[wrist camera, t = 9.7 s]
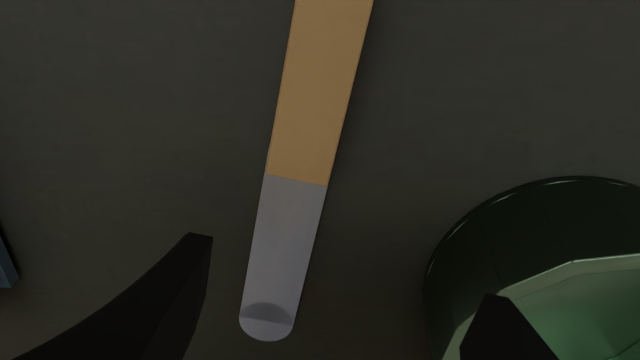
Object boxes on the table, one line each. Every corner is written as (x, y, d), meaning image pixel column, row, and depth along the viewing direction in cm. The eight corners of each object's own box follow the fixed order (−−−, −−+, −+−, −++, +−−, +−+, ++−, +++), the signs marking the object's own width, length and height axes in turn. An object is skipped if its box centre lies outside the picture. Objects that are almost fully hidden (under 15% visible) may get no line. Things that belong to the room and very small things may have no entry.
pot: (393, 350, 28) (401, 446, 23) (474, 148, 22) (506, 222, 17) (613, 393, 28) (664, 495, 24) (751, 208, 22) (857, 296, 17)
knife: (300, -34, 18) (292, -22, 16) (377, -17, 19) (381, -2, 16) (236, 331, 28) (225, 375, 25) (288, 341, 28) (282, 385, 25)
